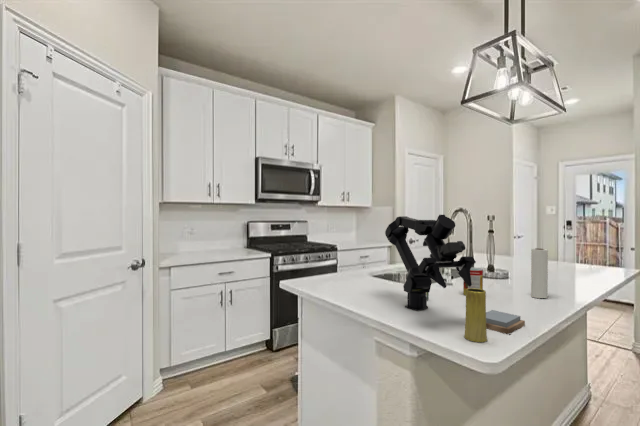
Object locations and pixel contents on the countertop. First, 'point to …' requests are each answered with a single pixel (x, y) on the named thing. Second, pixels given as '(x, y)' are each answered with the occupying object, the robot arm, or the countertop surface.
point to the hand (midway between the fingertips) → (458, 286)
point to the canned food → (474, 279)
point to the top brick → (501, 318)
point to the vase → (475, 315)
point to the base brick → (506, 330)
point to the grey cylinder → (539, 273)
